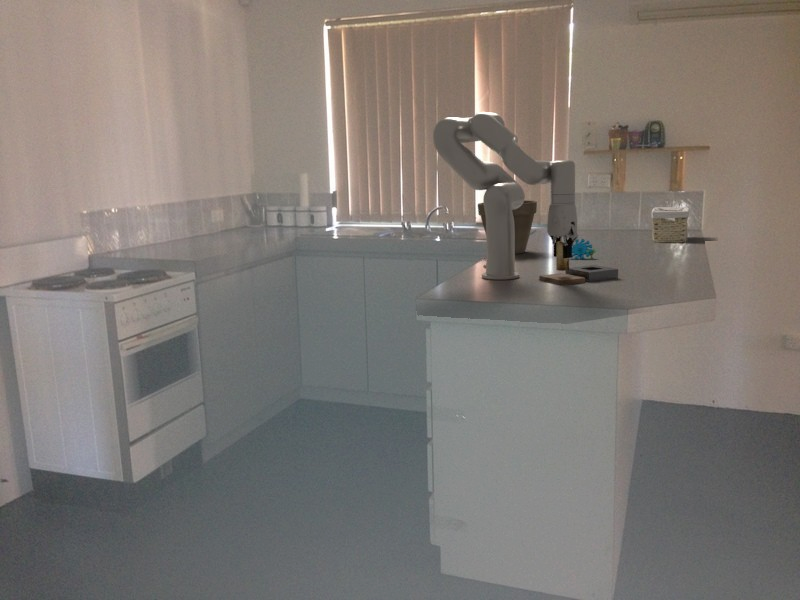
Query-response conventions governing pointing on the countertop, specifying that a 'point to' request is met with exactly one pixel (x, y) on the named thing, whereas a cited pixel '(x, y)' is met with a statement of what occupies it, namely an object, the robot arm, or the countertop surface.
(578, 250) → the gear
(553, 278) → the board
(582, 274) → the grey square frame
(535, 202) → the plant pot
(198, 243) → the countertop surface
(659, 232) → the storage basket
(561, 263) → the key peg
